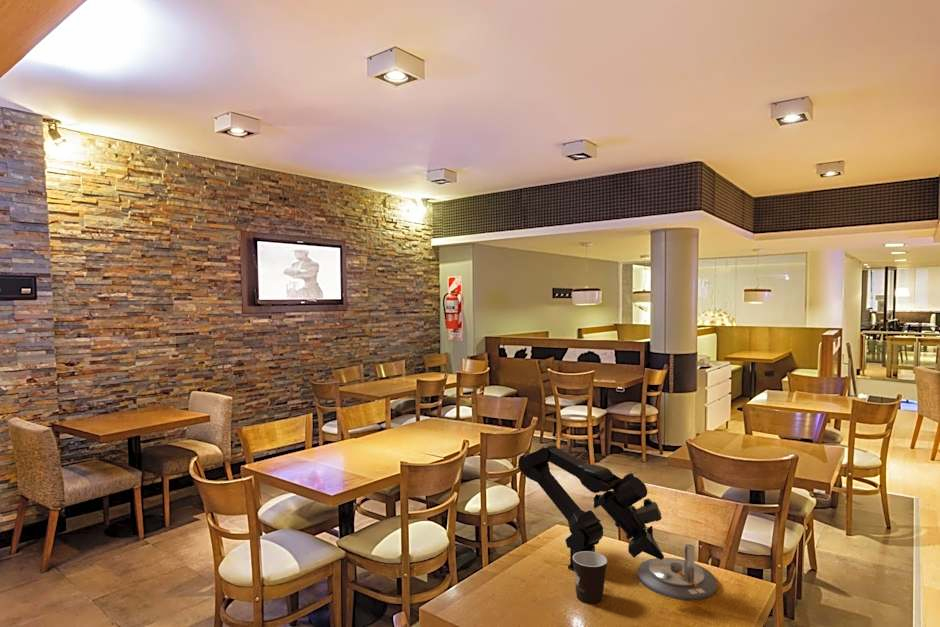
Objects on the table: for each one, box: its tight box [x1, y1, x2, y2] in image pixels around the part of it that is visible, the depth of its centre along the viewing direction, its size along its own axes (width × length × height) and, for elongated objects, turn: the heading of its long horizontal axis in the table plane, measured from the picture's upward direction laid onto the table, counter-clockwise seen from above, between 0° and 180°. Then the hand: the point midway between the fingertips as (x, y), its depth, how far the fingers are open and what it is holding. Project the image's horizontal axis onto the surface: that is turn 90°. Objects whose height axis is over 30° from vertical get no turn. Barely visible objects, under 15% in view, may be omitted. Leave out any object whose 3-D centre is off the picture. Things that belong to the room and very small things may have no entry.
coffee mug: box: [573, 551, 608, 605], centre depth 144 cm, size 12×9×10 cm
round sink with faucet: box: [649, 543, 704, 587], centre depth 150 cm, size 16×14×10 cm
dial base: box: [637, 557, 718, 601], centre depth 152 cm, size 20×20×2 cm
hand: (662, 558), depth 147 cm, fingers closed
